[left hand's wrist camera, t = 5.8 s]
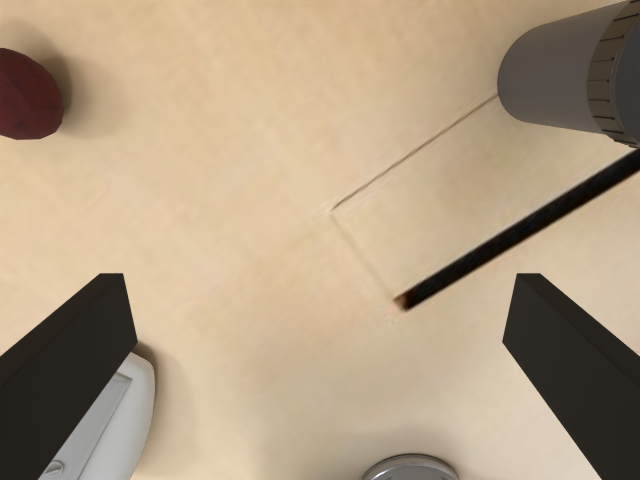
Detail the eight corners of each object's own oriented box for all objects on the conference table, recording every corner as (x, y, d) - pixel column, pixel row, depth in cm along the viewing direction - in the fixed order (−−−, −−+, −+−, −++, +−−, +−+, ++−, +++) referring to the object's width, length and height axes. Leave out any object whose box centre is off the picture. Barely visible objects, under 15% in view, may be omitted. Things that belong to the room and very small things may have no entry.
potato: (34, 34, 34) (-32, 21, 28) (97, 109, 37) (49, 113, 30) (-18, 83, 36) (-93, 81, 29) (46, 152, 38) (-11, 164, 32)
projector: (209, 450, 54) (172, 572, 40) (68, 483, 56) (-12, 608, 43) (136, 324, 46) (58, 423, 32) (-24, 370, 48) (-159, 479, 35)
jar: (596, 100, 37) (779, 107, 22) (508, 137, 38) (626, 166, 23) (582, 6, 34) (781, -58, 19) (487, 49, 35) (606, 19, 20)
